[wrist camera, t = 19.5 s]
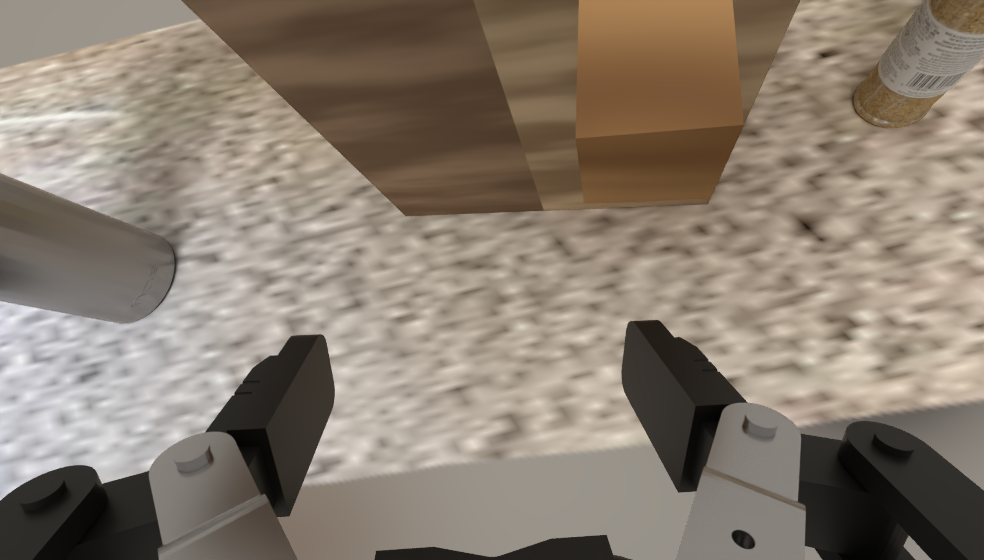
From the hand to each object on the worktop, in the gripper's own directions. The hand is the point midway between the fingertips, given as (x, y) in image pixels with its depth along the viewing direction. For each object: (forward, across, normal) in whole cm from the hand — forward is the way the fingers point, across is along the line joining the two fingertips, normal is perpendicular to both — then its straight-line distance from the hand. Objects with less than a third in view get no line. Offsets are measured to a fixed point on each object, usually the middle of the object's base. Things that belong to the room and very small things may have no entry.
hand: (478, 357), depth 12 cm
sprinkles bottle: (+22, -30, -5) cm, 37 cm away
